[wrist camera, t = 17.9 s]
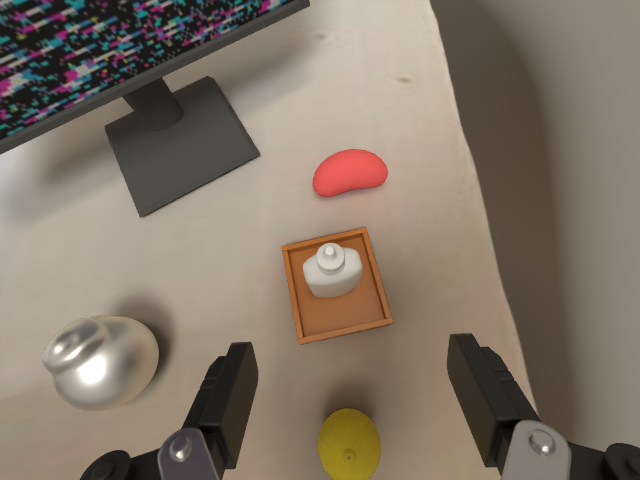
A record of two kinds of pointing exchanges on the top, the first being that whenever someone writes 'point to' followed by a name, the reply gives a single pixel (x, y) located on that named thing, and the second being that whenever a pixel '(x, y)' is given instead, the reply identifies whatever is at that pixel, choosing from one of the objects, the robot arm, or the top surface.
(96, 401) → the silver rounded lump
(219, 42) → the computer monitor
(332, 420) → the lemon
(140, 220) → the top surface
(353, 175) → the red kidney bean shape
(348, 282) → the eye dropper bottle
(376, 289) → the amber tray
